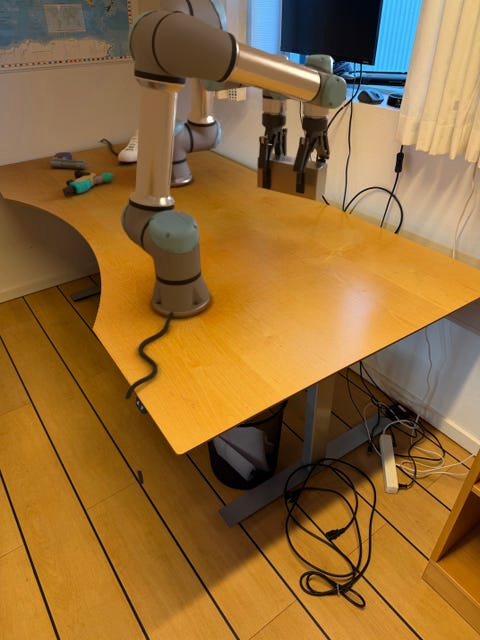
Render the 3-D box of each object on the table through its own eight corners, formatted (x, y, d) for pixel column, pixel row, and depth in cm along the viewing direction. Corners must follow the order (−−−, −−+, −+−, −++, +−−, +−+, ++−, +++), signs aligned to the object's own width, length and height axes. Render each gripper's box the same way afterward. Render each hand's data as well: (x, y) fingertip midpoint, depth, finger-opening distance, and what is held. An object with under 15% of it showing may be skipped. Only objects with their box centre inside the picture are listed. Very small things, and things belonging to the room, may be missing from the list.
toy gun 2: (40, 183, 186) (69, 189, 180) (86, 165, 204) (114, 170, 199) (43, 194, 188) (72, 201, 183) (88, 175, 207) (115, 180, 201)
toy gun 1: (98, 160, 223) (83, 171, 211) (61, 158, 226) (45, 169, 214) (96, 152, 220) (81, 162, 208) (59, 150, 223) (43, 160, 212)
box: (324, 194, 154) (327, 163, 148) (315, 200, 149) (318, 169, 143) (267, 181, 164) (268, 152, 158) (257, 187, 159) (257, 157, 153)
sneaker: (112, 165, 217) (107, 137, 210) (140, 147, 239) (137, 122, 232) (133, 167, 215) (128, 139, 207) (159, 148, 237) (156, 123, 230)
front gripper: (322, 105, 149) (317, 172, 162) (282, 123, 133) (280, 196, 145) (345, 108, 145) (337, 176, 158) (306, 126, 129) (302, 201, 142)
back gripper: (279, 104, 154) (277, 174, 168) (246, 117, 141) (246, 191, 155) (300, 107, 151) (296, 178, 164) (267, 120, 138) (266, 196, 151)
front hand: (310, 186), depth 152 cm, fingers open, 13 cm apart
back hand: (272, 184), depth 159 cm, fingers closed on box, 7 cm apart
